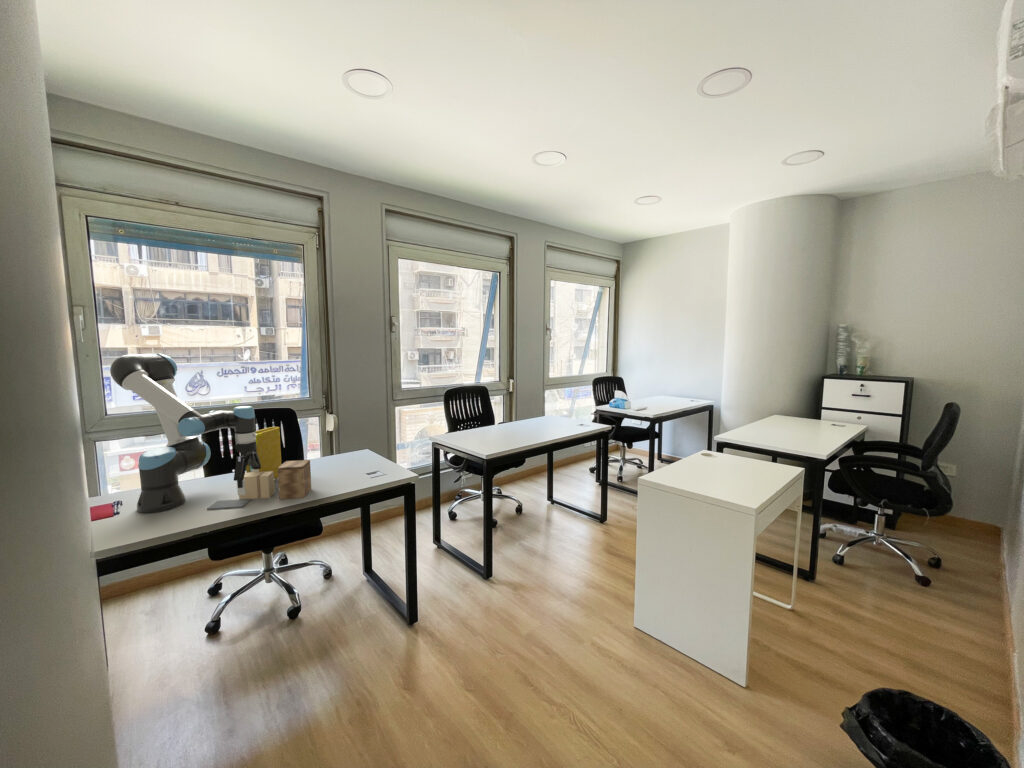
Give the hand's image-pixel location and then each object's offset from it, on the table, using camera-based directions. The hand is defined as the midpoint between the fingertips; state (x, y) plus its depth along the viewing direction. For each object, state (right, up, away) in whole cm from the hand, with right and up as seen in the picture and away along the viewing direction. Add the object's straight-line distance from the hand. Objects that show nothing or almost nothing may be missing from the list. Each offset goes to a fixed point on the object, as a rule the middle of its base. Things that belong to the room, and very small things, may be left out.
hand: (249, 488), depth 177 cm
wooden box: (+19, -3, +4) cm, 19 cm away
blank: (+3, -4, +1) cm, 5 cm away
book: (-5, -1, +21) cm, 21 cm away
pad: (-2, -4, -9) cm, 10 cm away
